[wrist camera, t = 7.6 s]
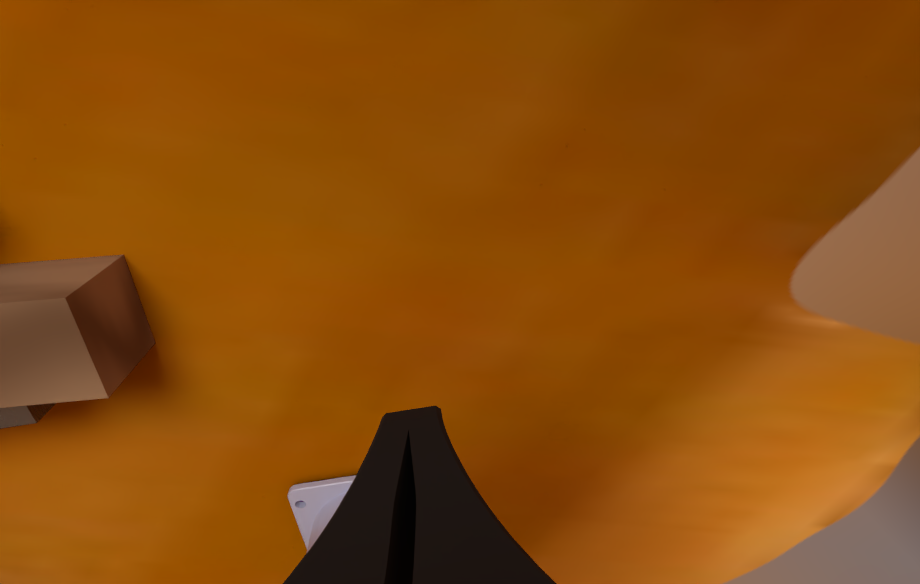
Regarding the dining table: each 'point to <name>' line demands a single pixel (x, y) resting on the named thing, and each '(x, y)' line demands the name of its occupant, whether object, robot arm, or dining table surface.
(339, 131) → the dining table surface
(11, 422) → the bracket
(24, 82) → the dining table surface
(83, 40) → the dining table surface
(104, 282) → the rail
